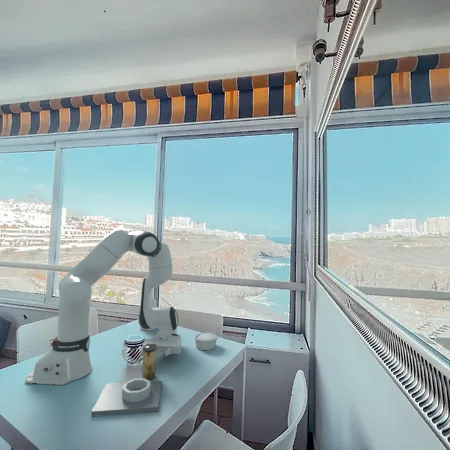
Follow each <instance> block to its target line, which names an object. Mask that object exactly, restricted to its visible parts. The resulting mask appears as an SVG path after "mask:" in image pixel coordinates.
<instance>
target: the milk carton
mask: <svg viewBox="0 0 450 450" xmlns="http://www.w3.org/2000/svg"><path fill="white" fill-rule="evenodd" d="M157 303H158V301H157V300H156V299H155V298H154V297H153V295H152V294H151V300H150V306H151V307H152V308H156V307H158V304H157ZM139 330H140V331H141V330H143V331H153V330H155V328H151V329H144V328H142V327H141V326H140V325H139Z"/></svg>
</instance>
